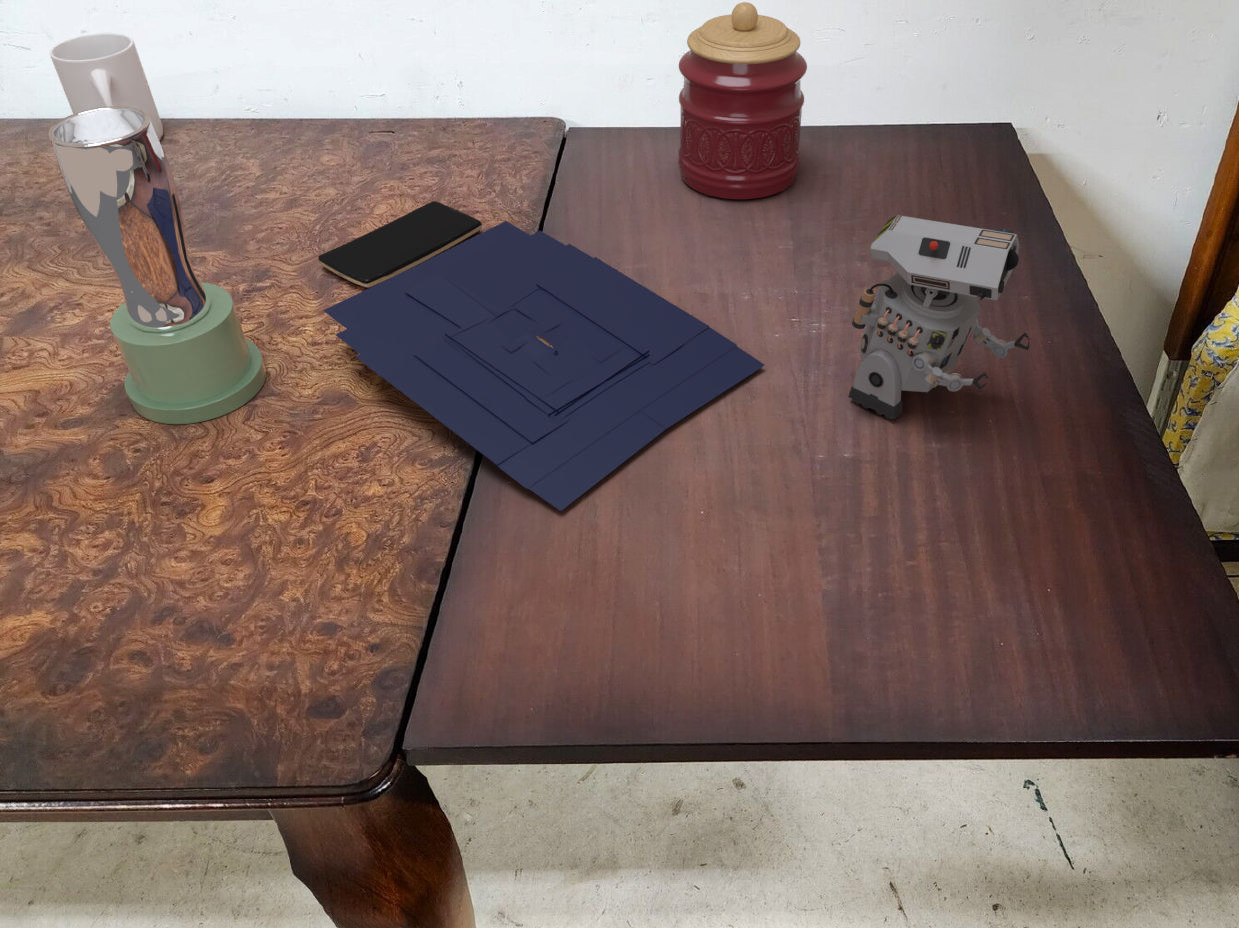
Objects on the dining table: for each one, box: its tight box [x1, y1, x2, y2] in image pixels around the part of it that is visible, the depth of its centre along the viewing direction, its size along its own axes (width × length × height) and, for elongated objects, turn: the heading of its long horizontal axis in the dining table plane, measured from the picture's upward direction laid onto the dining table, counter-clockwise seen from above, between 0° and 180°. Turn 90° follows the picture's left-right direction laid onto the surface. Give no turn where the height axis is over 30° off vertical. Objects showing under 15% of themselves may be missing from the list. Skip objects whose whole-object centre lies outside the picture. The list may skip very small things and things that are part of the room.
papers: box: [322, 220, 765, 512], centre depth 89 cm, size 24×30×4 cm
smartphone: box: [318, 200, 483, 288], centre depth 104 cm, size 7×1×15 cm
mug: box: [49, 32, 164, 141], centre depth 119 cm, size 9×12×11 cm
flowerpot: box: [109, 281, 267, 425], centre depth 86 cm, size 11×11×7 cm
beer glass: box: [48, 106, 210, 332], centre depth 78 cm, size 7×7×15 cm
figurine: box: [848, 214, 1031, 420], centre depth 81 cm, size 9×12×15 cm
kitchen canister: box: [678, 1, 808, 200], centre depth 109 cm, size 13×13×18 cm
